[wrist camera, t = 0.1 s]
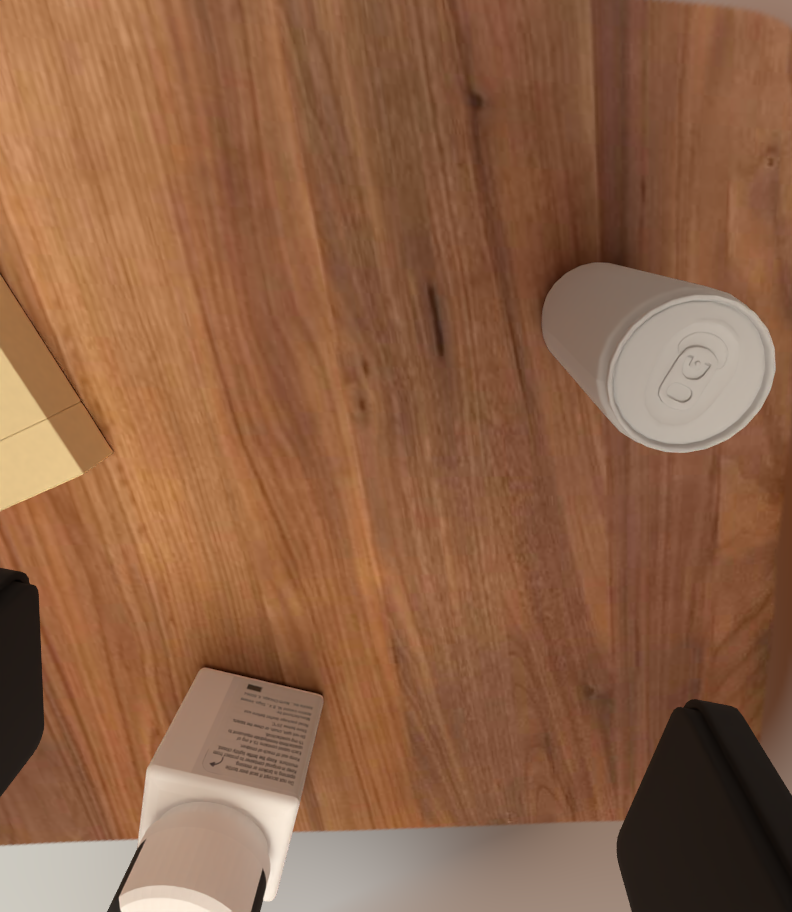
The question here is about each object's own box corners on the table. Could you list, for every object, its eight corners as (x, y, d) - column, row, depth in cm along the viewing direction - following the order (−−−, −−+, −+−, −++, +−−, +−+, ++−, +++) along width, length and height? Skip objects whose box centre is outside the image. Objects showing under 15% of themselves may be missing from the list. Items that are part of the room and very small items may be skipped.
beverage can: (665, 288, 28) (819, 333, 16) (609, 383, 29) (715, 482, 18) (570, 243, 27) (662, 258, 16) (519, 342, 29) (570, 418, 18)
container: (303, 783, 40) (244, 1026, 28) (187, 756, 40) (77, 990, 28) (325, 692, 37) (272, 919, 25) (201, 662, 37) (86, 877, 25)
